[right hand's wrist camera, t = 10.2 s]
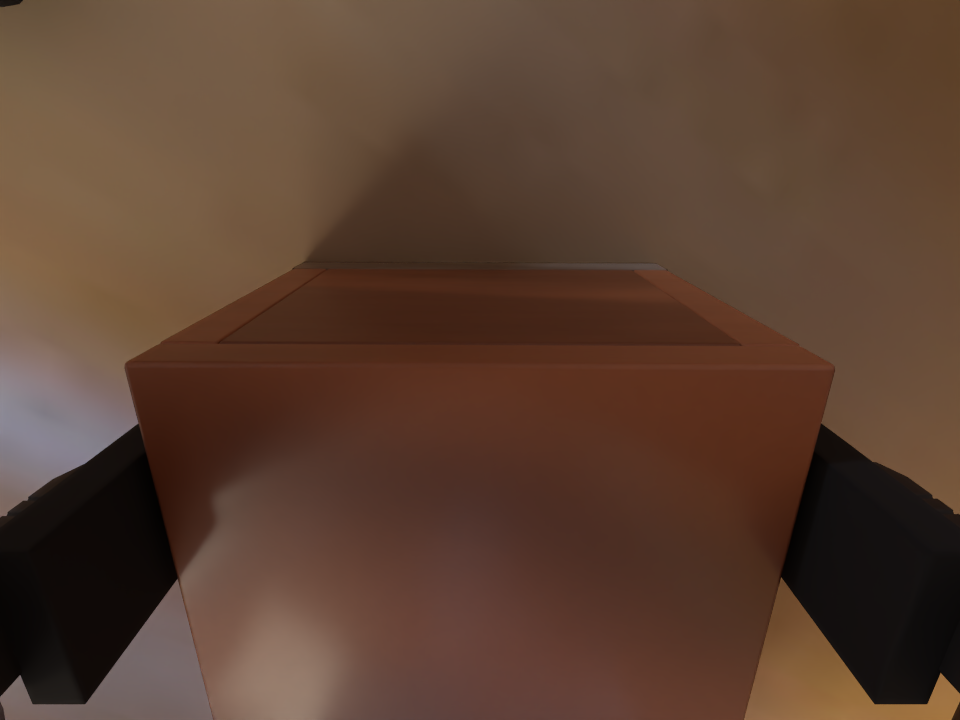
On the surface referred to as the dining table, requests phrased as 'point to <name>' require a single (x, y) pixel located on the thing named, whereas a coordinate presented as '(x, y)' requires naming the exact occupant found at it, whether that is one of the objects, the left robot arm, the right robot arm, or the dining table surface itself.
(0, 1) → the tape measure
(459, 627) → the cabinet
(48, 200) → the dining table surface
